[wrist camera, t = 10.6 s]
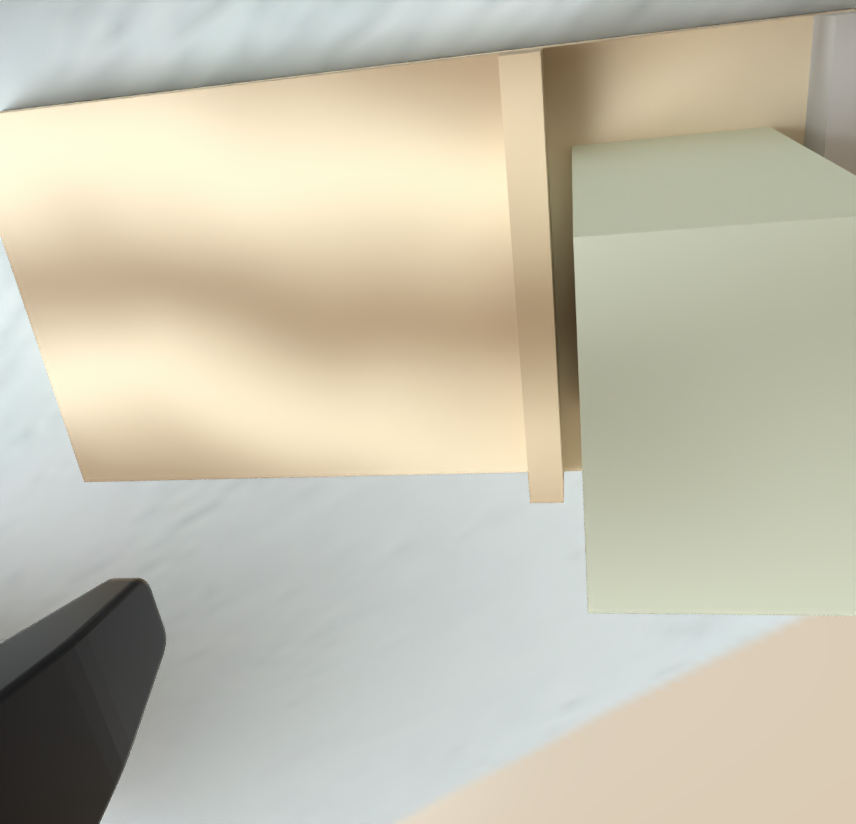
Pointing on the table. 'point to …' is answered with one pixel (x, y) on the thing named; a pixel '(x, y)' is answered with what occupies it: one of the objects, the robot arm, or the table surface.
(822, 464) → the carton
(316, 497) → the table surface
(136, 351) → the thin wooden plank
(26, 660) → the robot arm
